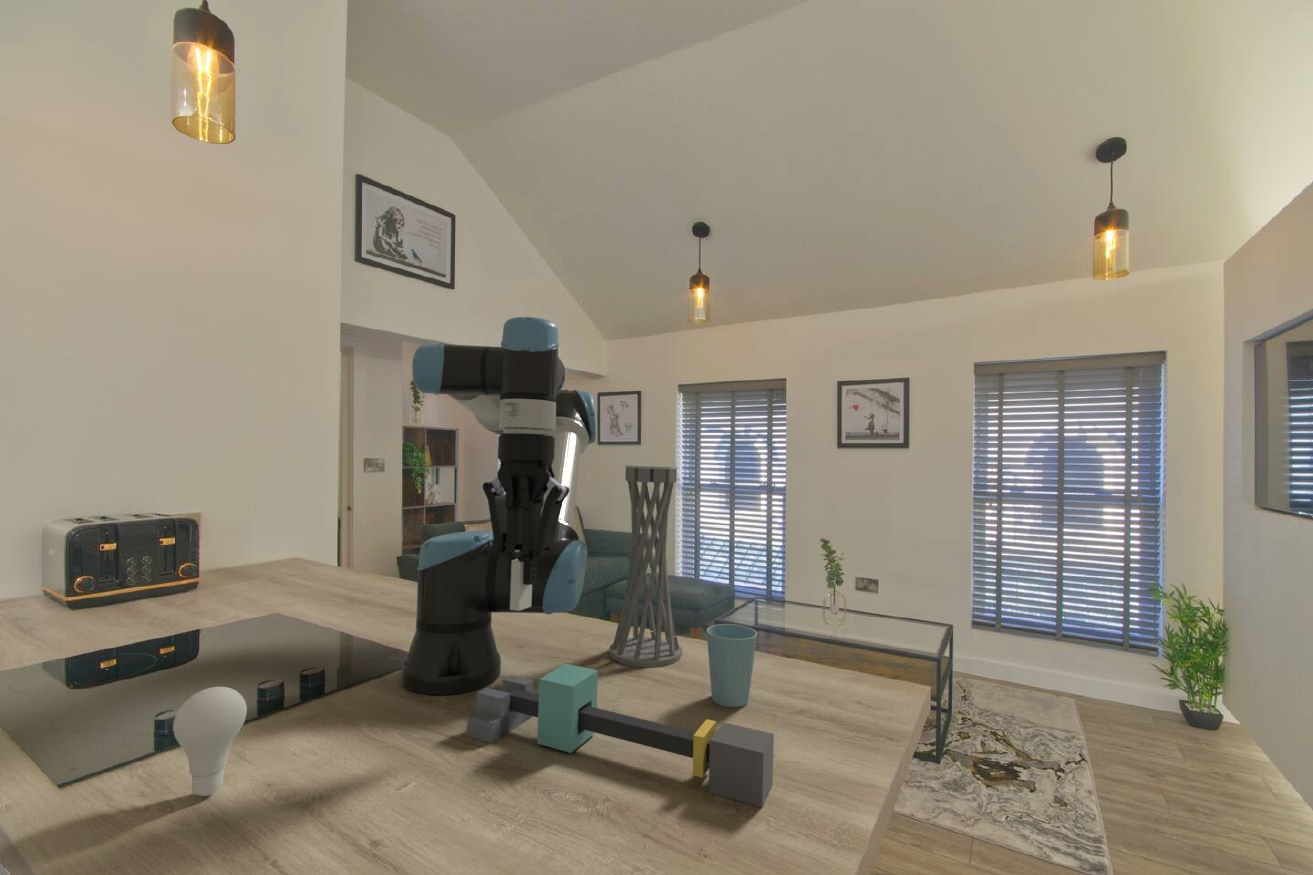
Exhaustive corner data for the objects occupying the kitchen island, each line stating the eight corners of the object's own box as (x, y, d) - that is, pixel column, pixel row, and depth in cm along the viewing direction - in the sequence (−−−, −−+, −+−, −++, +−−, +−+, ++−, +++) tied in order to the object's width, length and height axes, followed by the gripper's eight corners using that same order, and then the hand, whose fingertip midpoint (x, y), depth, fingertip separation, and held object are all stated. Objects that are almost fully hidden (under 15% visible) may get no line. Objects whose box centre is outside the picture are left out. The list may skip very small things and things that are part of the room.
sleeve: (537, 743, 72) (539, 678, 72) (563, 723, 77) (565, 663, 78) (570, 752, 70) (573, 686, 70) (595, 731, 75) (597, 670, 75)
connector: (708, 792, 63) (709, 739, 63) (721, 771, 67) (723, 722, 68) (762, 807, 61) (763, 753, 61) (772, 784, 65) (773, 733, 65)
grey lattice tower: (666, 639, 115) (671, 465, 116) (693, 662, 103) (699, 467, 104) (600, 645, 110) (606, 463, 111) (621, 670, 98) (627, 465, 99)
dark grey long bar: (500, 722, 75) (501, 688, 75) (521, 708, 79) (522, 676, 79) (753, 791, 61) (754, 749, 61) (763, 771, 65) (764, 732, 65)
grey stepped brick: (467, 736, 74) (468, 696, 74) (516, 706, 83) (517, 671, 83) (491, 743, 72) (493, 703, 72) (539, 711, 81) (540, 676, 82)
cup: (766, 706, 85) (767, 635, 86) (721, 714, 82) (722, 641, 83) (738, 687, 92) (739, 621, 93) (696, 694, 89) (698, 626, 90)
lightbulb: (196, 778, 63) (202, 677, 63) (255, 777, 63) (260, 677, 64) (152, 813, 57) (159, 701, 57) (218, 812, 57) (223, 700, 58)
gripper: (470, 431, 77) (463, 607, 76) (551, 431, 72) (544, 621, 71) (506, 433, 84) (500, 595, 83) (582, 434, 79) (576, 608, 78)
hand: (520, 607), depth 77 cm, fingers closed
